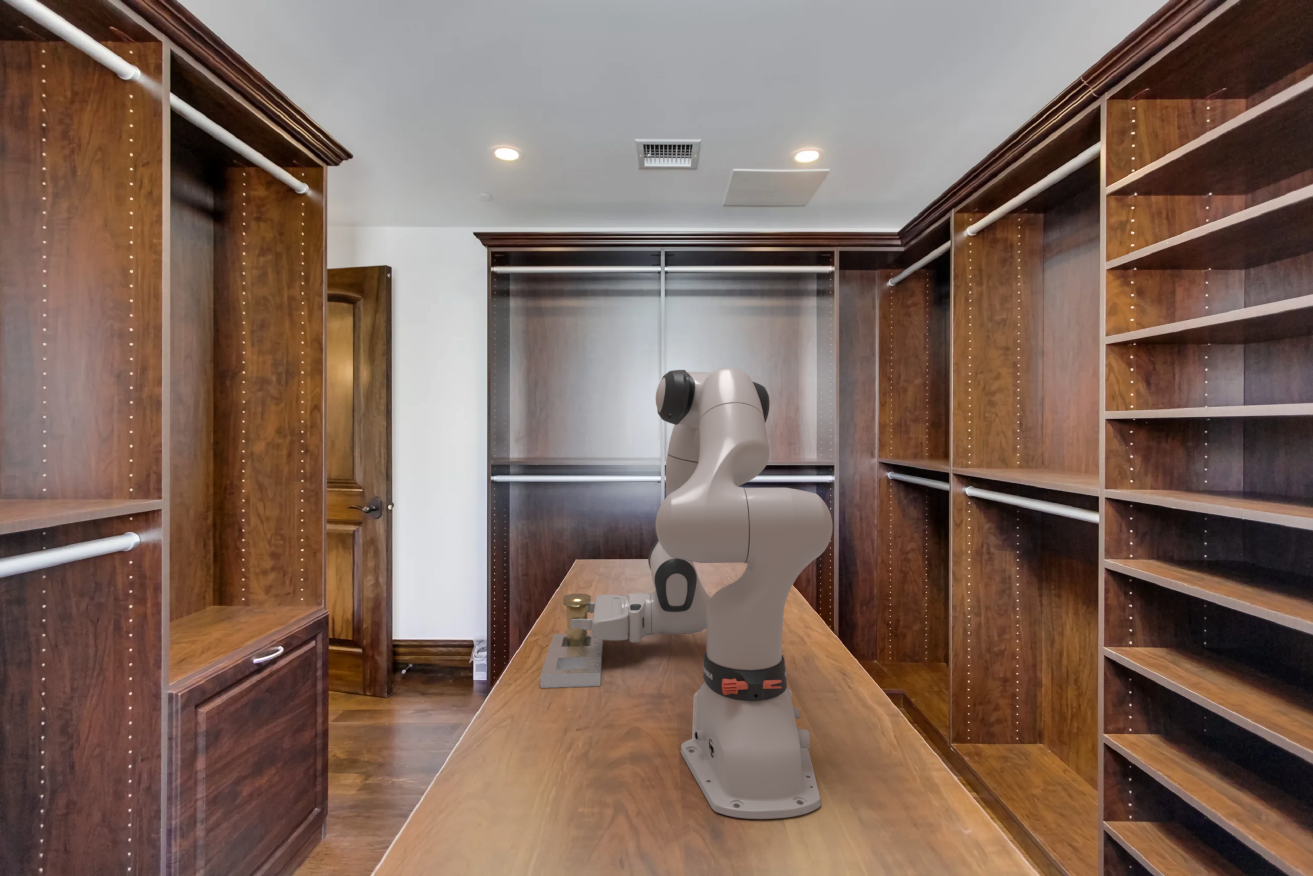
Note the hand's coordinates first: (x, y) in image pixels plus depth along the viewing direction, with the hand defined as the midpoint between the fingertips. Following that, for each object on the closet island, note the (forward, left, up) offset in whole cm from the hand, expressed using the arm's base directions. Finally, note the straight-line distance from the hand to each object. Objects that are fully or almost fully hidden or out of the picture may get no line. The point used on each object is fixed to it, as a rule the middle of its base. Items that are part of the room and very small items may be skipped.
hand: (572, 616), depth 125 cm
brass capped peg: (0, -1, -8) cm, 8 cm away
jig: (-6, -1, -8) cm, 10 cm away
